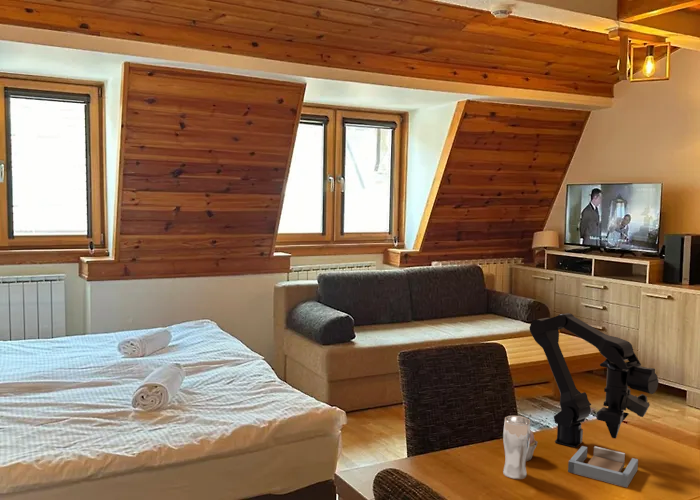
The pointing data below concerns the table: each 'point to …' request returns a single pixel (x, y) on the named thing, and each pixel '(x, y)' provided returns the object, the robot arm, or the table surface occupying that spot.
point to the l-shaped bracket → (607, 459)
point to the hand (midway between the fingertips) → (614, 438)
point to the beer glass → (516, 446)
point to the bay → (601, 470)
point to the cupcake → (531, 446)
